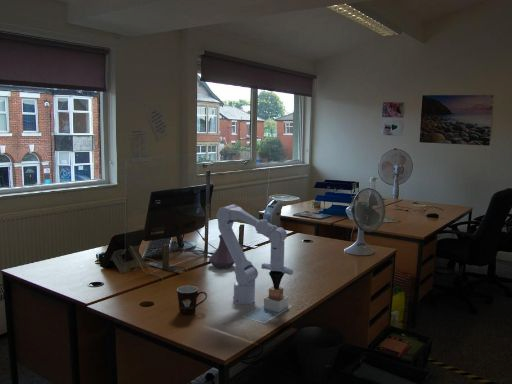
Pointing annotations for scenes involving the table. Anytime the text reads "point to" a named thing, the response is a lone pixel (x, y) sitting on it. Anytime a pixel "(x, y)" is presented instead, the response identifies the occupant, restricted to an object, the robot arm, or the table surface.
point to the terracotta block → (276, 293)
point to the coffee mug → (188, 299)
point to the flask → (221, 256)
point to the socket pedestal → (276, 304)
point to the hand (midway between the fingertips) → (276, 287)
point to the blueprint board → (263, 314)
